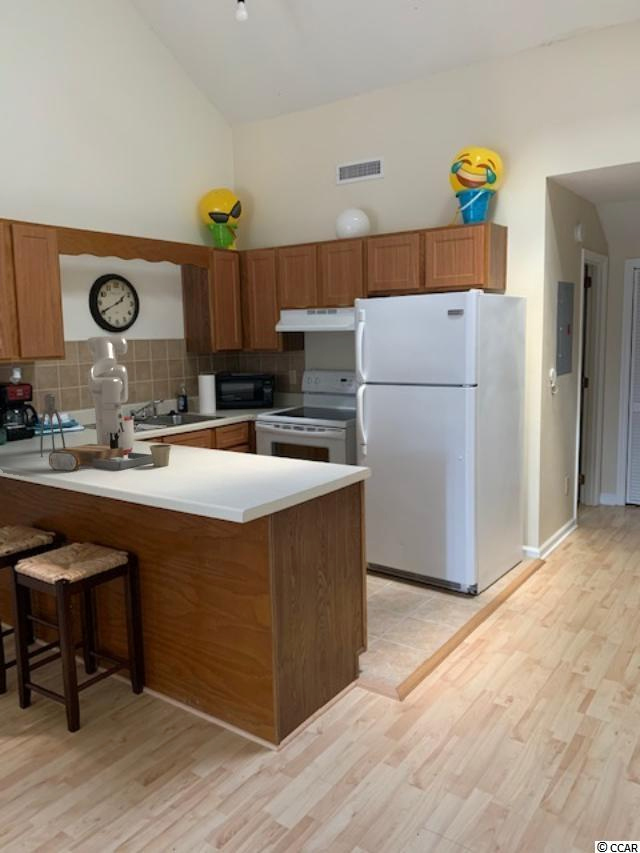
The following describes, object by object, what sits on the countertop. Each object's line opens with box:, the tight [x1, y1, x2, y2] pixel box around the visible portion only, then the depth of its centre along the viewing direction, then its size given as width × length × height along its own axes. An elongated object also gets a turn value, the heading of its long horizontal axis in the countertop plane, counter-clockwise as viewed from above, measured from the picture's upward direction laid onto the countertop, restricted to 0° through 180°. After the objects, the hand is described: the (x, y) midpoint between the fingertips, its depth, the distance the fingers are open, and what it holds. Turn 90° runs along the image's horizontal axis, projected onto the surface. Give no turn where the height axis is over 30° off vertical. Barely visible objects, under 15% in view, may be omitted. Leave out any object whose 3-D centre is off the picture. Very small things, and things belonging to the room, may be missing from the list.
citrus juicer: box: [100, 416, 138, 455], centre depth 320 cm, size 16×17×20 cm
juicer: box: [39, 393, 66, 458], centre depth 313 cm, size 10×11×30 cm
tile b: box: [110, 457, 125, 462], centre depth 293 cm, size 4×4×2 cm
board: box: [61, 443, 125, 467], centre depth 302 cm, size 16×22×6 cm
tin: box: [48, 449, 82, 472], centre depth 281 cm, size 15×3×8 cm, turn 71°
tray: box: [92, 452, 153, 471], centre depth 290 cm, size 20×17×4 cm
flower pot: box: [148, 443, 172, 468], centre depth 286 cm, size 9×9×9 cm
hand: (114, 448), depth 293 cm, fingers closed
